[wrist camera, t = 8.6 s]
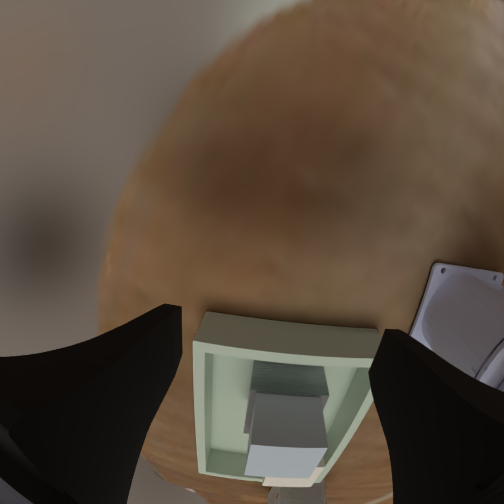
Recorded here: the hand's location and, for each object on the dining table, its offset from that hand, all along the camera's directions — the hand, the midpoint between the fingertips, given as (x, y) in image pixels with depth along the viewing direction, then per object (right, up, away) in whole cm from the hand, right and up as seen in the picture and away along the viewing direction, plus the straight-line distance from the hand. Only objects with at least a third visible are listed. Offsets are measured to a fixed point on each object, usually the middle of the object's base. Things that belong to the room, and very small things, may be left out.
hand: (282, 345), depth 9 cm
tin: (+2, -8, +13) cm, 15 cm away
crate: (+1, -11, +14) cm, 18 cm away
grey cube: (+1, -9, +9) cm, 12 cm away
